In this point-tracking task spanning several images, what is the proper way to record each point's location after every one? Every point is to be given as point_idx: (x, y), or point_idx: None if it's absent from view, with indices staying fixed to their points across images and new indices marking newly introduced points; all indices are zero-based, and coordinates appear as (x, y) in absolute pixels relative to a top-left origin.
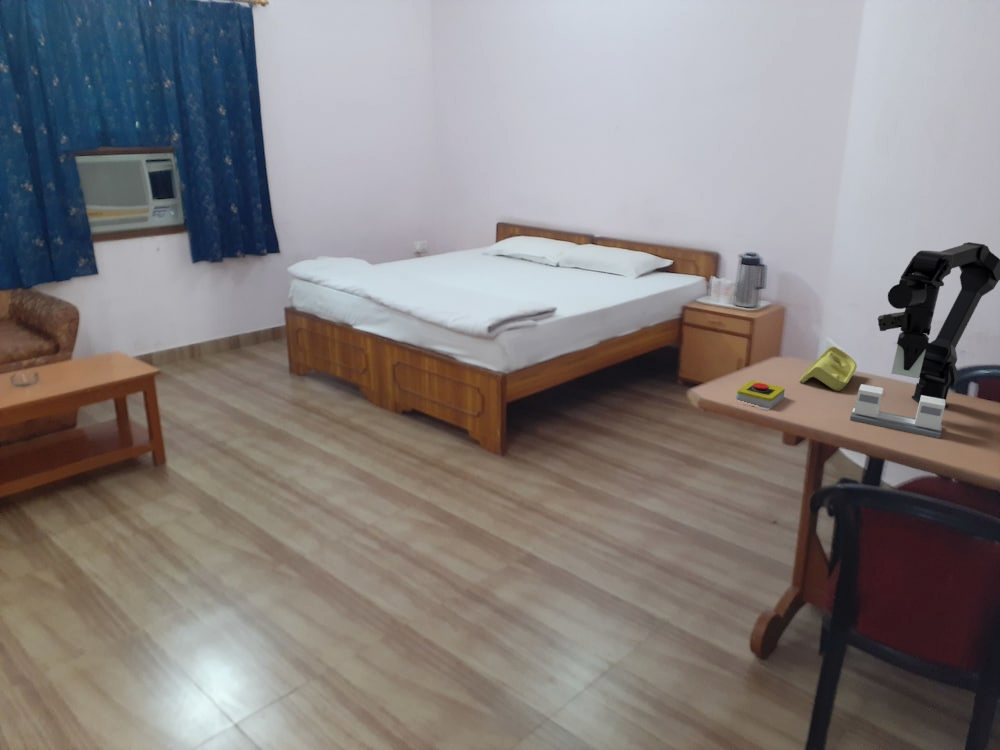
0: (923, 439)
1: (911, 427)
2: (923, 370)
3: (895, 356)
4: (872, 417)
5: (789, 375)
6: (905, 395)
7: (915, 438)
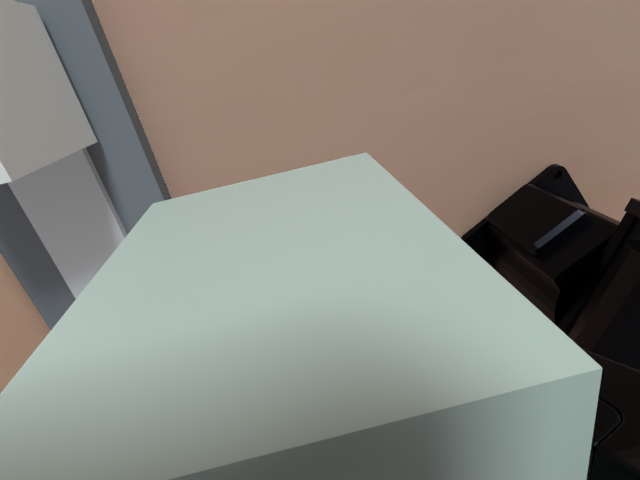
0: (26, 358)
1: (53, 314)
2: (601, 293)
3: (68, 322)
4: None
5: None
6: (579, 129)
7: (2, 338)
